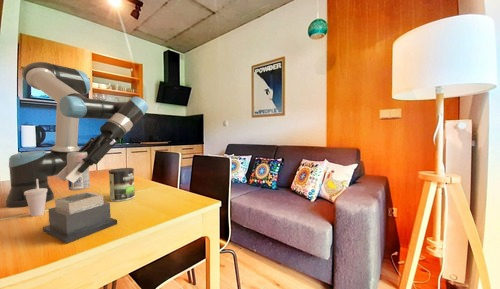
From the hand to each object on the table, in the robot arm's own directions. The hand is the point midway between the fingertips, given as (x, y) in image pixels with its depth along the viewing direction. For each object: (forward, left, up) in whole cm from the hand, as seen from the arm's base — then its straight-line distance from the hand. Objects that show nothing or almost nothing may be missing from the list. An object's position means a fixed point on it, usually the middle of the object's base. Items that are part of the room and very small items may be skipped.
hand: (64, 179), depth 64 cm
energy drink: (0, +4, -4) cm, 6 cm away
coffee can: (-19, +29, -17) cm, 39 cm away
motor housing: (0, +4, -17) cm, 18 cm away
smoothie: (-29, +2, -17) cm, 34 cm away
